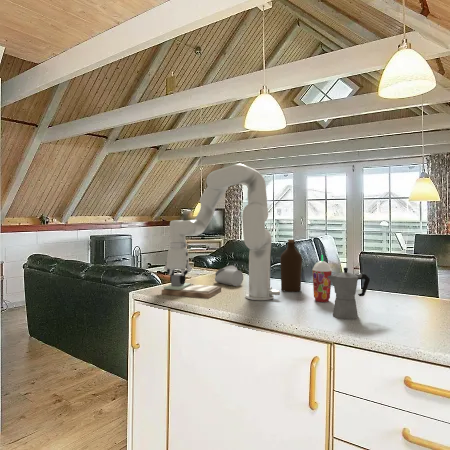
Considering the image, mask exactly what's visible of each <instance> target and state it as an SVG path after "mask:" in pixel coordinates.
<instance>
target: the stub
mask: <svg viewBox="0 0 450 450" xmlns="http://www.w3.org/2000/svg"><path fill="white" fill-rule="evenodd" d="M174 274H175V275H172V276H171V281H170V284H169V285H168V284H167V285H165V286H164V287H163V289H173V290H180V289H183V288H185V287H187V286H189V285H192V283H190V282H185V283H184V284H181V276H182V274H181V273H174Z"/></svg>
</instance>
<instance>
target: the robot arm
mask: <svg viewBox="0 0 450 450" xmlns="http://www.w3.org/2000/svg"><path fill="white" fill-rule="evenodd" d="M205 183H206V185H207V187H206V188H205V190H204V191H203V193H202V194H201V196H200V199H199V203H200V209H199V212H198V213H197V215H196V216H195V218H194V219H188V220H182V219H181V220H180V219H179V220H178V219H177V220H176V219H174V220H171V221H170V222H169V248H168V250H167V256H166V257H167V258H166V264H165V265H164V267H163V269H164V270H165V271H166V272H167V273H168V275H169V278H170V279H169V280H170V281H169V282H171V276H172V275H175V274H176V273H175V270H180V272H181V273H180V274H182V276H181V284H184V283H186V276H187V275H188V273H189V272H190V271H192V270H193V269H192V266H191V265H190V256H189V251H188V248H187V247H188V246H189V243H187V242H186V241H187V240H186V238H187V237H192V236H199V235H201V234H203V233H204V232H205V230H206V229H207V228H208V226H209V225H210V223H211V221H212V220H213V217H214V214H215V212H216V208H217V206H218V204H219V203H220V201H221V200H222V198H223V197H224V195H225V194H226V192H227V190H228V189H229V187H231V186H235V185H243V186H246V187H247V204H246V205H245V206H244V207H243V210H242V217H241V219H242V221H241V222H242V234H243V237H242V238H243V242H244V244H245V246H246V248H248V249H249V253H248V254H249V255H248V256H249V257H248V293H245V298H246V299H248V300H252V301H270V300H272V299H274V296H281V295H280V294H281V293H280V292H281V291H280V290H276V289H273V288H272V286H271V251H272V236H271V233H270V231H269V230H268V229H267V228H266V225H265V224H266V221H267V219H268V218H269V209H268V208H269V207H268V196H267V186H266V180H265V178H264V176H263V175H262V173H260V172H259V171H258V170H256V169H254V168H252V167H250V166H248V165H245V164H242V163H236V164H233V165H229V166H226V167H223V168H218V169H216V170H212V171H211V172H210V173H208V174H207V177H206V180H205ZM186 236H187V237H186Z"/></svg>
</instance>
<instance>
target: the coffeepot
mask: <svg viewBox="0 0 450 450" xmlns="http://www.w3.org/2000/svg"><path fill="white" fill-rule="evenodd" d="M348 270H349V269H348V267H343V272H338V273H334V274H332V275H330V276H328V277H327V278H329V279H330V281H331V285H332V286H333V288H334V293H335V301H334V305H333V310H332V316H333V318H337V319H340V320H356V319H358V318H359V317H358V316H359V314H358V309H357V301H356V293H357V287H358V281H359V280H364V282H363V287H362V288H361V293H358V297H364V296H365V294H366V292H367V289H368V286H369V283H370V281H371V280H370V277H369V276H368V275H367V274H366V273H351V272H348Z"/></svg>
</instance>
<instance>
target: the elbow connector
mask: <svg viewBox="0 0 450 450" xmlns="http://www.w3.org/2000/svg"><path fill="white" fill-rule="evenodd" d="M214 274H215V277H214V281H215V283H220V284H224V285H228V286H232V287H238V286H241V285H242V284H243V282H244V274H243V272H242V271H241V270H238V268H237V267H236V266H235V265H227V266H225V267H223V268H220V269H218V270H216V272H215V273H214Z"/></svg>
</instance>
